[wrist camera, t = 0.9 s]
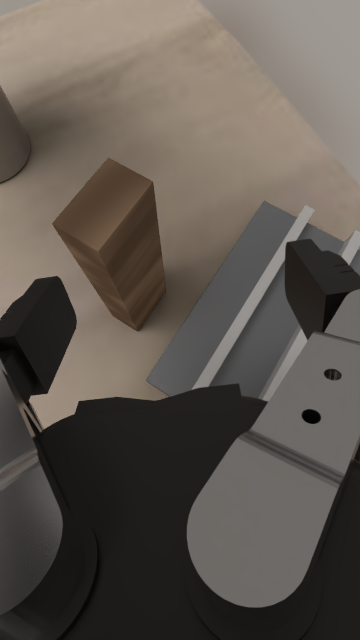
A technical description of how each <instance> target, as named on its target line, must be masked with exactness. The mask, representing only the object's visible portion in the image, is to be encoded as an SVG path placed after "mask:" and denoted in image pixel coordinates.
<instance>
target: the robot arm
mask: <svg viewBox="0 0 360 640" xmlns="http://www.w3.org/2000/svg"><path fill="white" fill-rule="evenodd" d="M29 154H30V141H29V138H28V136H27V134H26V132H25V130H24V129H23V127H22V125H21V123H20V121H19V119H18V118H17V116H16V114H15V112H14V110H13V108H12V106H11V104H10V102H9V101H8V99H7V97H6V95H5V93H4V91H3V90H2V88H1V86H0V182H2V181H5V180H7V179H9V178H11V177H12V176H14V175H15V174H16V173H17V172H19V171H20V170H21V169H22V167H23V166H24V165H25V163H26V161H27V159H28V157H29ZM285 293H286V298H287V300H288V303H289V305H290V307H291V309H292V311H293V313H294V315H295V317H296V319H297V321H298V323H299V325H300V327H301V328H302V330H303V332H304V334H305V336H306V338H307V340H308V341H307V343H306V344H305V346H304V347H303V349H302V350H301V352H300V353H299V355H298V357H297V358H296V360H295V361H294V363H293V364H292V366H291V367H290V369H289V371H288V372H287V374H286V375H285V377H284V378H283V380H282V381H281V383H280V385H279V386H278V388H277V389H276V391H275V392H274V394H273V395H272V397H271V399H270V400H269V402H268V401H265V400H262V399H258V398H253V397H249V396H241V391H240V386H239V383H237V384H228V385H219V386H210V387H201V388H196V389H193V390H190V391H187V392H184V393H180V394H177V395H174V396H171V397H168V398H165V399H161V400H157V401H151V400H141V399H132V398H122V397H112V398H103V399H94V400H85V401H79V402H78V406H77V409H76V412H75V414H74V415H71V416H69V417H66V418H64V419H62V420H60V421H58V422H56V423H54V424H52V425H51V426H49V427H47V428H46V429H44V428H43V426H42V424H41V422H40V420H39V418H38V416H37V414H36V412H35V410H34V408H33V406H32V405H31V403H30V401H29V399H30V396H31V395H40V394H47V393H48V391H49V389H50V386H51V384H52V382H53V380H54V377H55V375H56V373H57V370H58V368H59V366H60V364H61V361H62V359H63V357H64V354H65V352H66V350H67V347H68V345H69V343H70V341H71V338H72V336H73V334H74V331H75V329H76V324H77V320H76V314H75V311H74V309H73V306H72V304H71V302H70V299H69V297H68V294H67V292H66V290H65V287H64V285H63V283H62V281H61V279H60V278H59V277H58V276H54V277H47V278H40V279H36V280H35V281H34V282H33V283H32V284H31V286H30V287H29V288H28V290H27V291H26V292H25V294H24V295H23V296H21V297H20V298H19V299H17V300H16V301H15V302H13V303H12V305H11V306H10V307H9V308H8V310H7V311H6V313H5V314H4V315H3V316H2V317H1V320H0V640H360V275H359V274H358V273H357V272H356V271H355V272H354V269H353V268H352V267H351V266H350V265H348V263H347V262H346V261H345V260H344V259H343V258H342V257H341V256H340V255H338V254H335V253H333V252H331V251H329V250H327V251H321V250H320V249H319V247H318V246H317V245H316V244H315V243H314V242H313V241H312V239H303V240H296V241H290V242H287V243H286V247H285Z"/></svg>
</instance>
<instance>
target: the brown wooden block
mask: <svg viewBox="0 0 360 640" xmlns="http://www.w3.org/2000/svg"><path fill="white" fill-rule="evenodd" d="M52 225H53V226H54V228H55V229H56V231H57V232H58V234H59V235H60V237H61V238H62V240H63V241H64V243H65V244H66V246H67V247H68V249H69V250H70V252H71V253H72V255H73V256H74V258H75V259H76V261H77V262H78V264H79V265H80V267H81V268H82V270H83V271H84V273H85V275H86V276H87V278H88V279H89V281H90V282H91V284H92V285H93V287H94V288H95V290H96V291H97V293H98V294H99V296H100V297H101V299H102V300H103V302H104V303H105V305H106V306H107V308H108V309H109V311H110V312H111V314H112V315H113V316H114V317H115V318H117V319H119V320H120V321H122V322H123V323H125V324H127V325H128V326H130V327H131V328H133V329H134V330H136V331H139V329H140V328H141V327H142V325H143V324H144V322H145V321H146V319H147V318H148V316H149V315H150V314H151V312H152V311H153V309H154V308H155V306H156V305H157V304H158V302H159V301H160V299H161V298H162V296H163V295H164V293H165V292H166V286H165V278H164V269H163V261H162V253H161V244H160V236H159V227H158V219H157V211H156V202H155V194H154V186H153V181H151V180H149V179H147V178H145V177H143V176H142V175H140V174H138V173H136V172H134V171H132V170H130V169H129V168H127V167H125V166H123V165H121V164H119V163H117V162H115V161H114V160H112V159H110V158H108V159H107V160H106V161H105V162H104V163H103V165H102V166H101V167H100V168H99V169H98V170H97V172H96V173H95V174H94V175H93V176H92V177H91V179H90V180H89V181H88V182H87V183H86V184H85V186H84V187H83V188H82V189H81V190H80V192H79V193H78V194H77V195H76V196H75V197H74V199H73V200H72V201H71V202H70V203H69V204H68V206H67V207H66V208H65V209H64V210H63V211H62V213H61V214H60V215H59V216H58V217H57V218H56V220H55V221H54V222H53V223H52Z"/></svg>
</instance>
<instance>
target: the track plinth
mask: <svg viewBox="0 0 360 640" xmlns="http://www.w3.org/2000/svg"><path fill="white" fill-rule="evenodd" d="M314 210H315V209H313V208H311V207H309V206H307V205H305V206H304V208H303V210H302V211H301V213H300V214H299V216H298V218H297V217H295V216H293V215H291V214H289V213H287V212H285V211H283V210H281V209H279V208H277V207H275V206H273V205H271V204H269V203H268V202H266V201H264V202H263V203H262V205H261V206H260V208H259V209H258V211H257V212H256V214H255V215H254V217H253V218H252V220H251V221H250V223H249V225H248V226H247V228H246V229H245V231H244V232H243V234H242V235H241V237H240V238H239V240H238V241H237V243H236V244H235V246H234V247H233V249H232V250H231V252H230V253H229V255H228V256H227V258H226V259H225V261H224V262H223V264H222V265H221V267H220V269H219V270H218V272H217V273H216V275H215V276H214V278H213V279H212V281H211V282H210V284H209V285H208V287H207V288H206V290H205V291H204V293H203V294H202V296H201V297H200V299H199V300H198V302H197V303H196V305H195V306H194V308H193V309H192V311H191V313H190V314H189V316H188V317H187V319H186V320H185V322H184V323H183V325H182V326H181V328H180V329H179V331H178V332H177V334H176V335H175V337H174V338H173V340H172V341H171V343H170V344H169V346H168V347H167V349H166V350H165V352H164V353H163V355H162V357H161V358H160V360H159V361H158V363H157V364H156V366H155V367H154V369H153V370H152V372H151V373H150V375H149V376H148V378H147V379H146V381H147V382H148V383H150V384H151V385H153V386H154V387H156V388H157V389H159V390H161V391H162V392H164V393H165V394H167V395H168V396H170V397H171V396H174V395H177V394H180V393H184V392H187V391H190V390H193V389H196V388H201V387H210V386H219V385H228V384H237V383H239V386H240V391H241V396H249V397H253V398H258V399H262V400H265V401H268V402H269V400H270V399H271V397H272V395H273V394H274V392H275V391H276V389H277V388H278V386H279V385H280V383H281V381H282V380H283V378H284V377H285V375H286V374H287V372H288V371H289V369H290V367H291V366H292V364H293V363H294V361H295V360H296V358H297V357H298V355H299V353H300V352H301V350H302V349H303V347H304V346H305V344H306V343H307V341H308V340H307V338H306V336H305V334H304V332H303V330H302V328H301V327H300V325H299V323H298V321H297V319H296V317H295V315H294V313H293V311H292V309H291V307H290V305H289V303H288V300H287V298H286V293H285V247H286V243H287V242H290V241H296V240H303V239H312V241H313V242H314V243H315V244H316V245H317V246H318V247H319V249H320V250H321V251H327V250H329V251H331V252H333V253H335V254H338V255H340V256H341V257H342V258H343V259H344V260H345V261H346V262H347V263H348V265H350V266H351V267H352V268H353V269H354V272H355V271H356V272H357V273H358V274H359V275H360V250H359V249H358V248H359V246H360V232H358V231H356V230H355V231H354V232H353V233H352V235H351V236H350V237H349V238H348V239H347V240H346V241H345V242H343V241H341V240H339V239H337V238H335V237H333V236H332V235H330V234H328V233H326V232H324V231H322V230H320V229H318V228H316V227H314V226H312V225H310V224H308V223H307V222H308V220H309V218H310V217H311V215H312V213H313V212H314Z"/></svg>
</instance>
